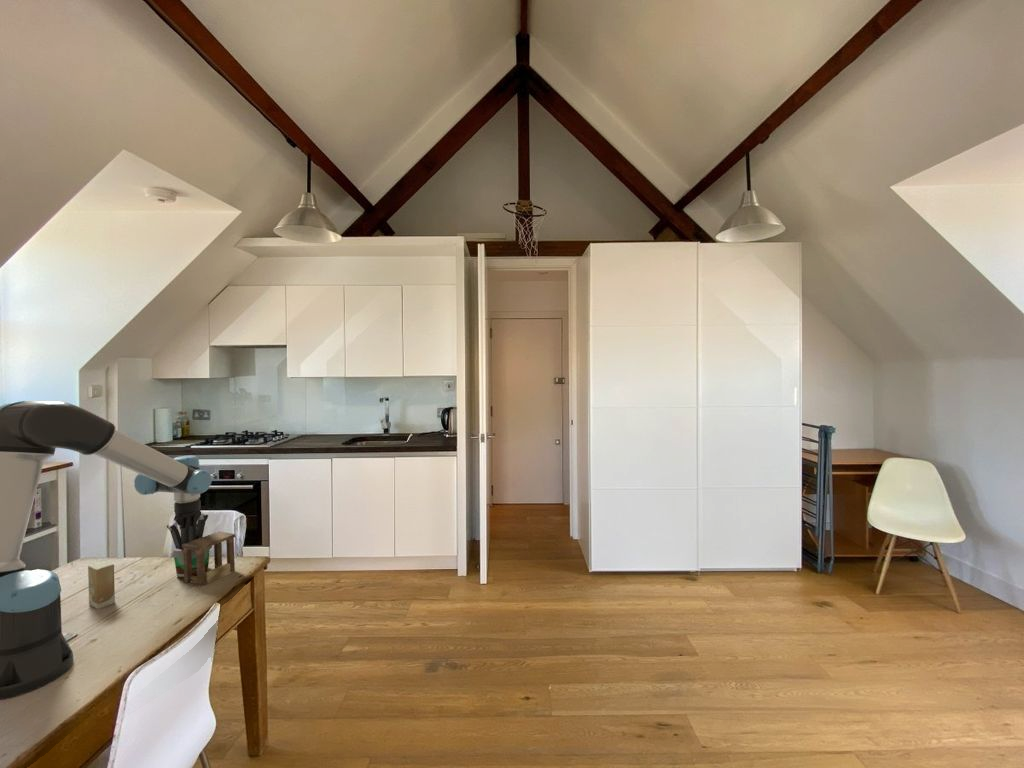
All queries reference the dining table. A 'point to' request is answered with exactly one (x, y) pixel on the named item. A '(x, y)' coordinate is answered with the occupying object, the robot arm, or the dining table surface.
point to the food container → (180, 562)
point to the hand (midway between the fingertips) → (189, 565)
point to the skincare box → (101, 584)
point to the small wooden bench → (200, 558)
